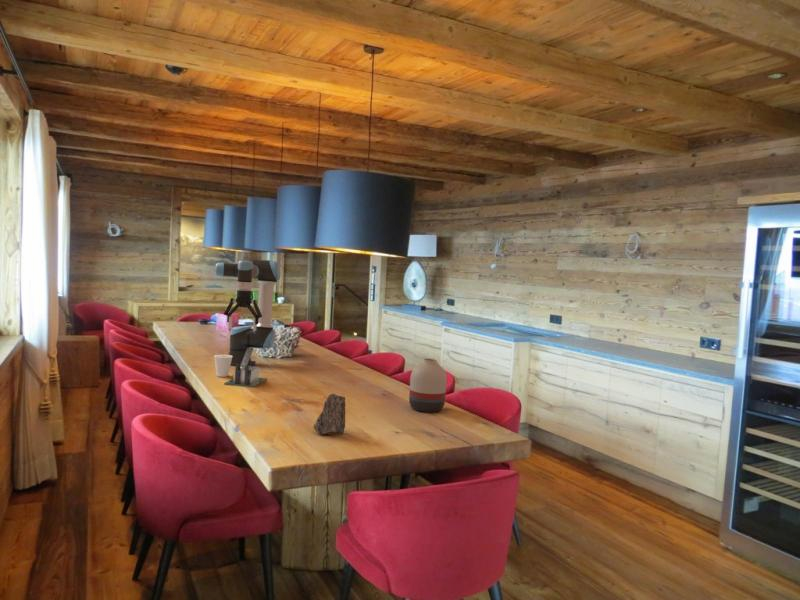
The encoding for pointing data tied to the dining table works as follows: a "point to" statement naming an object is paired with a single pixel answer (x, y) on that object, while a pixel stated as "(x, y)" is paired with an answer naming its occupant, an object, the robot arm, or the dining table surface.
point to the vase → (427, 386)
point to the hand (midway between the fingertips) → (242, 329)
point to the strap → (246, 358)
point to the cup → (222, 365)
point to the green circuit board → (246, 376)
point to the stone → (331, 416)
